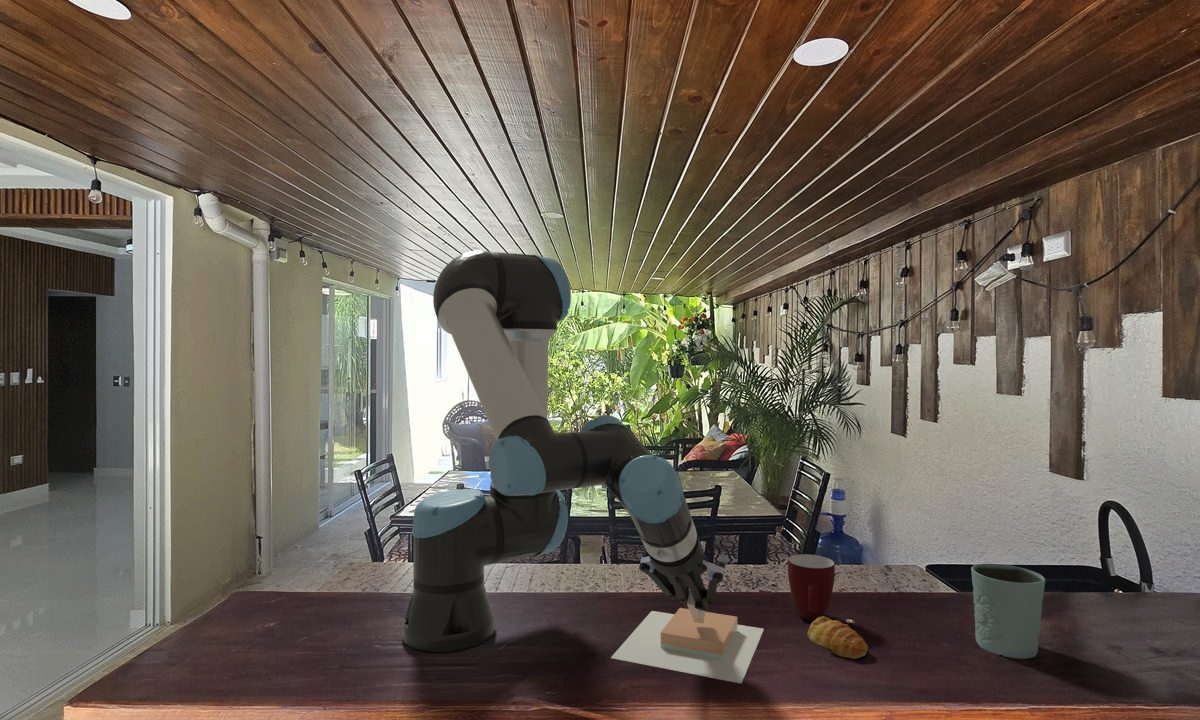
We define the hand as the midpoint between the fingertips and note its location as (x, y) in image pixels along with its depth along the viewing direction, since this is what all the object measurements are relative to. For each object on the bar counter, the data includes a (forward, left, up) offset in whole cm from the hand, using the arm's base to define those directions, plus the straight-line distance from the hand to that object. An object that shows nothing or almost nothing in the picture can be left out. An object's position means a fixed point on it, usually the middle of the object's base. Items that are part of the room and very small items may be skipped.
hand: (700, 614), depth 108 cm
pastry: (+21, +8, -5) cm, 23 cm away
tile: (0, -6, -3) cm, 6 cm away
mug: (+16, +17, -5) cm, 24 cm away
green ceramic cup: (+46, +18, -5) cm, 50 cm away
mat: (-1, -2, -5) cm, 5 cm away
